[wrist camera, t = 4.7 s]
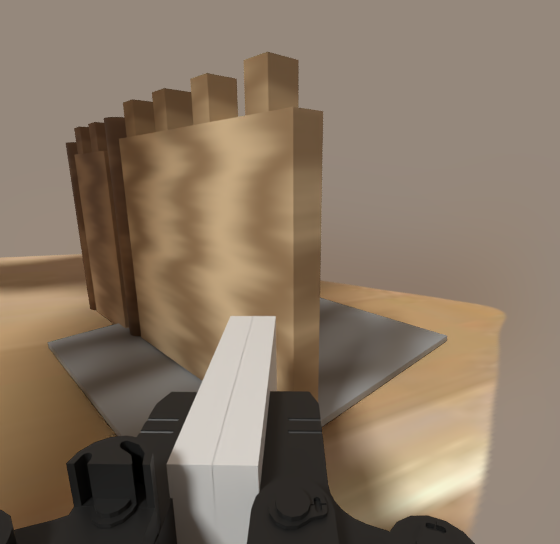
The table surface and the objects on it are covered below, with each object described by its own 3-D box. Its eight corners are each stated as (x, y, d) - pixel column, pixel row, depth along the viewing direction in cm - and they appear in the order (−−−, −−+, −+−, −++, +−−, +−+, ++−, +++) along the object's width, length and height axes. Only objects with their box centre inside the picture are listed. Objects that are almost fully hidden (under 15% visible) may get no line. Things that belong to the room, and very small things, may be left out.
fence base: (27, 319, 33) (-11, 127, 29) (230, 273, 48) (223, 140, 44) (184, 521, 14) (137, 30, 10) (446, 340, 28) (472, 111, 24)
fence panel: (141, 337, 28) (115, 105, 24) (161, 331, 29) (139, 108, 25) (293, 446, 17) (292, 42, 13) (317, 429, 18) (323, 52, 14)
